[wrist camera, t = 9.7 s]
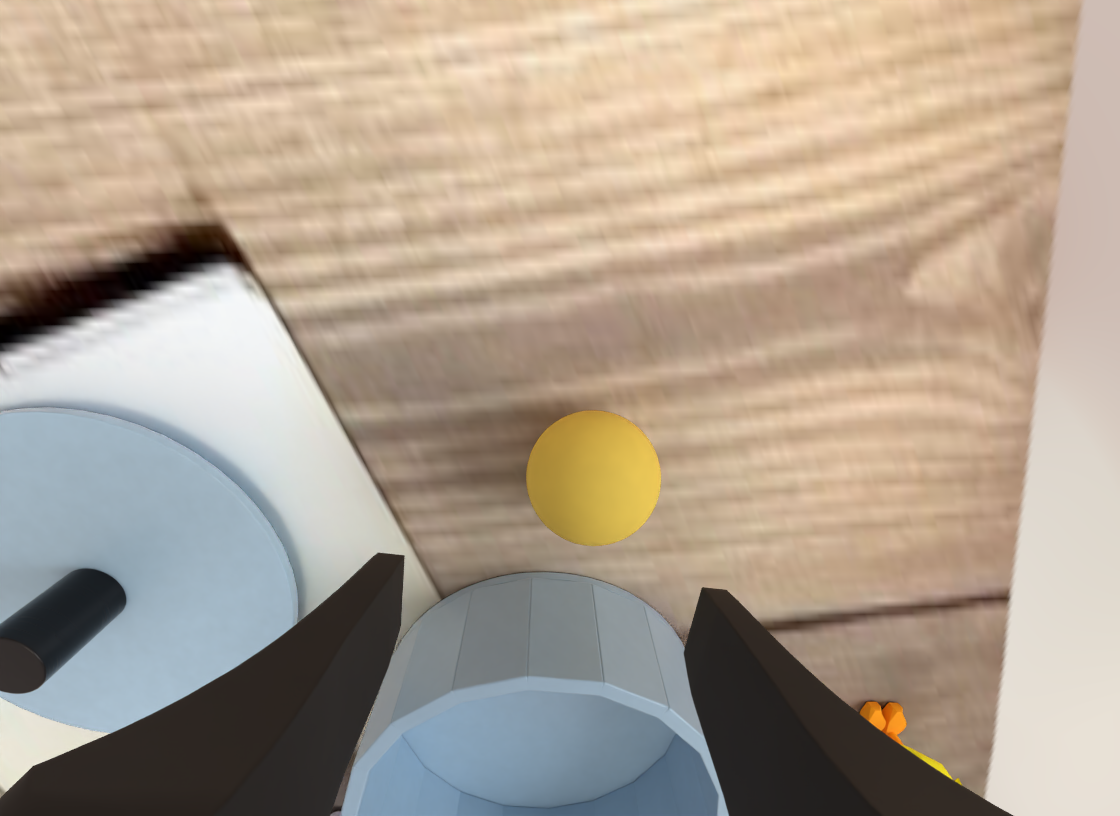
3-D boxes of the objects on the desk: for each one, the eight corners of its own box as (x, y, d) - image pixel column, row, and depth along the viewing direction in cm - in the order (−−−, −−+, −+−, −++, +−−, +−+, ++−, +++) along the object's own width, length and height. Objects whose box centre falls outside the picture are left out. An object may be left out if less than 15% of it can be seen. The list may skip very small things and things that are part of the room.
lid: (170, 762, 25) (90, 877, 21) (-157, 570, 21) (-343, 662, 17) (380, 581, 22) (338, 671, 18) (41, 314, 18) (-123, 344, 14)
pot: (536, 843, 28) (534, 986, 23) (320, 695, 24) (258, 825, 19) (755, 702, 25) (810, 829, 20) (547, 508, 21) (547, 601, 16)
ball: (583, 523, 21) (592, 599, 17) (503, 447, 20) (491, 509, 16) (671, 452, 20) (705, 514, 16) (593, 368, 19) (607, 411, 15)
